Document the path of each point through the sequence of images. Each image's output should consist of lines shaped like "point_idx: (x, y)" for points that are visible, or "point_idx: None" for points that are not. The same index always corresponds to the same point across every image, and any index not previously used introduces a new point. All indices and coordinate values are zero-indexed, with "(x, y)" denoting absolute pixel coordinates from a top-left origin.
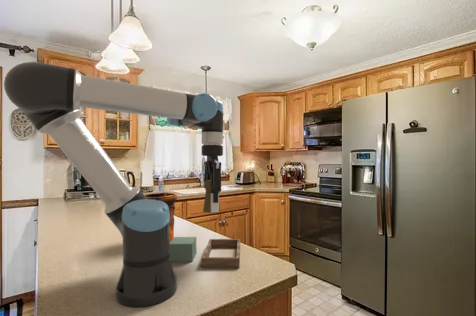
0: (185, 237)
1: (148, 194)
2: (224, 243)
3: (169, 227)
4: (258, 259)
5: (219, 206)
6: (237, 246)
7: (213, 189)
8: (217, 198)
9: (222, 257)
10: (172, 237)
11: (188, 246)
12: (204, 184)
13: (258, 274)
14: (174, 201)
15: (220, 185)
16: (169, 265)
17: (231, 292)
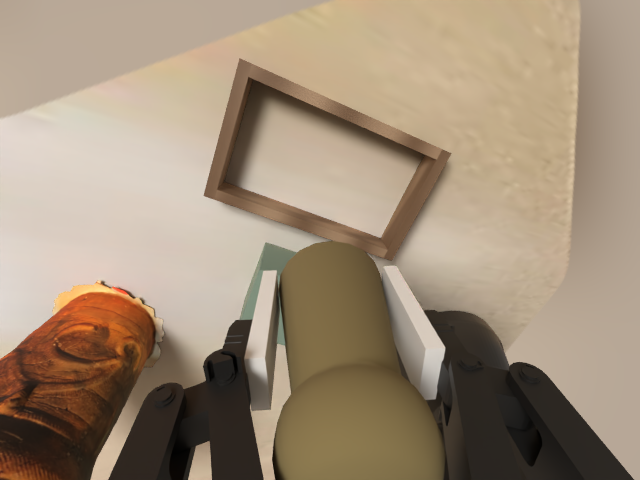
0: (254, 303)
1: None
2: (233, 136)
3: (117, 347)
4: (408, 49)
5: (356, 262)
6: (336, 113)
7: (517, 430)
8: (451, 333)
9: (415, 203)
10: (117, 306)
11: None
12: (170, 470)
13: (508, 110)
14: (2, 434)
15: (579, 420)
16: (496, 363)
17: (543, 214)
